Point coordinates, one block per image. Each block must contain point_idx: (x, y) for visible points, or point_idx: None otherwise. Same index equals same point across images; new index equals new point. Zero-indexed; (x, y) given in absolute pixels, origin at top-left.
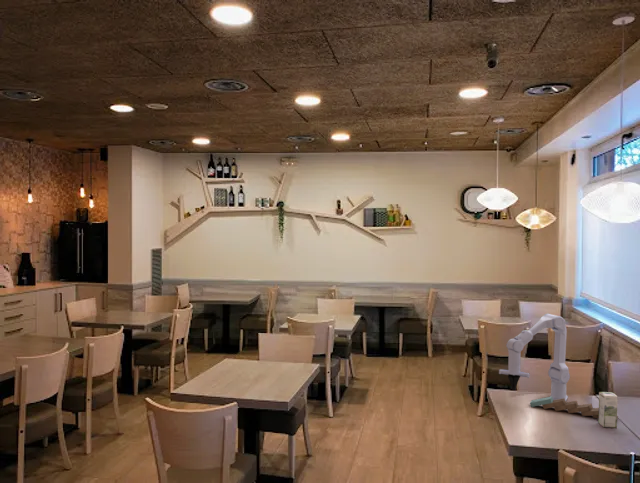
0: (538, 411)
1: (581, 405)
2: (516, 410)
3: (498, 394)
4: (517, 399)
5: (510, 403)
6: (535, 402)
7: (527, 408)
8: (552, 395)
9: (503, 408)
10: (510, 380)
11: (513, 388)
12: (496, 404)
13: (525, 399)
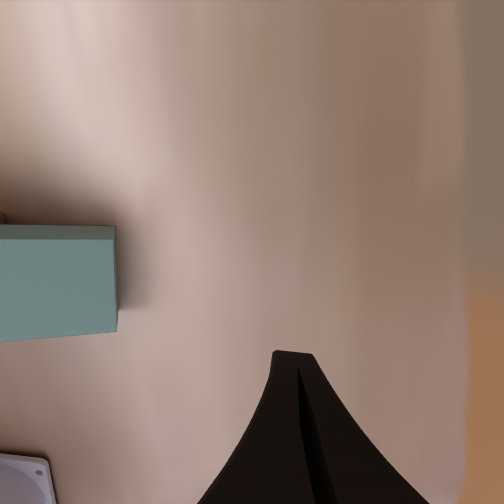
0: (19, 108)
1: None
2: (230, 17)
3: (413, 436)
4: (258, 377)
5: (309, 247)
6: (46, 238)
7: (136, 160)
8: (14, 495)
9: (382, 21)
10: (401, 497)
11: (297, 365)
12: (456, 147)
13: (199, 398)
